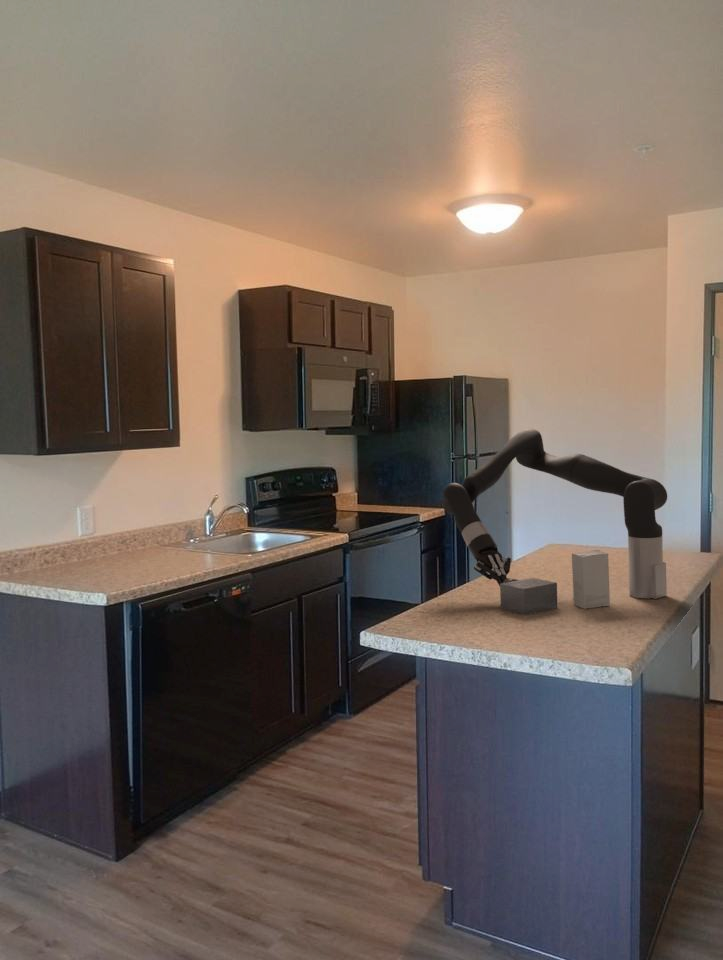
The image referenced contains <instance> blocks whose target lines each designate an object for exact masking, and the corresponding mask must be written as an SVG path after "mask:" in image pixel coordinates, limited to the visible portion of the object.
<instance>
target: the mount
mask: <svg viewBox="0 0 723 960" xmlns="http://www.w3.org/2000/svg"><path fill="white" fill-rule="evenodd" d="M517 580H518V581H512V582H507V583H501V584H500V586H499V590H500V591H499V592H500V595H499V596H500V609H501V610H504V609H505V611H508V610H509V611H508V612H511V611H512V613H515V612H516V613H515V614H519V613H520V615H523V614H524V615H523V616H526V615H525V614H527V615H531V614H530V613H532V614H535V612H536V613H540V612H539V611H541V612H545V610H546V611H550V610H555V609H558V607H559V605H558V583H557V582H555V581H549V580H544V579H540V578H535V577H530V578H524V579H517ZM554 608H555V609H554ZM549 609H550V610H549Z"/></svg>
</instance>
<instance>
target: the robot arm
mask: <svg viewBox="0 0 723 960" xmlns="http://www.w3.org/2000/svg"><path fill="white" fill-rule="evenodd" d="M541 434H542V433H540V431H539V430H537V429H534V428H526V429H523V430H520V431H519V432H517V433H516V434H514V435H513V436H512V437H511V439H510V440H508V441H507V442H506V443H505V444H504V445H503V446H502V447H501V448H500V449H499V450H498V451H497V452H496V453H495V454H494V455H493V456H492V457H491V458H490V459H489V460H488V461H486V462H485V463H484V464H482V465H481V466H480V467H478V468H477V469H476V470H473V472H471V473H469V474H467V476H466V477H465V478H464V479H463V482H462V484H460V483H457V482H451V483H448V484H447V485H446V486H445V488H444V490H443V495H442V496H443V497H442V507H443V509H444V511H445V512H446V513H448V514H450V515H454V522H455V524H456V526H457V528H458V530H459V532H460V534H461V536H462V538H463V540H464V542H465V544H466V546H467V548H468V550H469V551H470V553H471V555H472V557H473V558H474V560H476V562H477V563H476V564H475V565H474V567H473V570H475V571H476V572H478V573H479V574H481V575H482V576H483V577H484V578H486V579H488V580H494V581H496V582H497V584H498V586H499V587H500V584H501V583H503V581H504V580H506V579H508V577H507V575H508V574H509V573H510V571H511V570H510V569H511V564H512V558H511V557H509V556H508V557H507V558H505V557H503V555H502V554H501V553H500V551H499V550H498V546H497V544H496V542H495V539H493V537H492V535H491V533H490V532H489V531H488V529H487V527H486V526H485V525H484V524H483V522H482V520H481V518H480V517H479V515H478V513H477V512H476V511H475V508H474V505H473V503H474V502H475V501H476V500H477V498H478V497H479V496H480V495H482V494H483V493H485V492H486V491H487V490H488V489H491V487H493V486H495V484H496V483H497V482H499V480H500V479H501V478H502V476H503V474H504V473H505V471H507V468H508V467H509V465H510V464H511V463H512V461H513V460H514V459H515V460H516V461H517V463H518V464H520V466H522V467H524V468H528V469H532V470H536V471H538V472H541V473H546V474H549V475H552V476H555V477H557V478H560V479H563V480H565V481H567V482H570V483H571V484H573V485H576V486H579V487H582V488H584V489H587V490H590V491H594V492H600V493H607V494H611V495H612V494H613V495H617V496H620V497H622V498H623V514H624V515H623V516H624V518H623V519H624V524H625V527H626V530H627V545H628V549H627V551H628V552H627V553H628V585H629V587H628V590H629V592H628V593H629V596H630V597H632V598H636V599H637V598H638V599H650V598H653V599H654V600H655V599H656V600H657V598H658V599H660V598H663V597H666V596H667V563H666V562H665V561H664V551H663V541H664V540H663V528H662V526H661V525H660V524H658V522H657V519H656V511H657V510H659V509H661V508H662V507H663V506H664V505H665V504H666V503H667V500H668V493H667V490H666V487H665V486H664V485H663V484H662V483H661V482H660V481H658V480H656V479H653V478H649V477H644V476H640V475H637V474H633V473H629V472H627V471H624V470H622V469H620V468H617V467H615V466H612V465H610V464H608V463H605V462H604V461H600V460H598V459H595V458H593V457H591V456H588V455H584V454H582V453H574V454H573V453H572V454H568V455H564V456H555V455H552V454H550V453H548V452H546V451H545V448H544V442H543V438H542V437H543V436H542V435H541Z"/></svg>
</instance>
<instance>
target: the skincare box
mask: <svg viewBox="0 0 723 960" xmlns="http://www.w3.org/2000/svg"><path fill="white" fill-rule="evenodd" d="M571 568H572V592H573V605H574V606H576V607H578V606H579V608H581V609H583V608H584V609H583V610H587V608H588V609H594V608H601V607H602V606H603V607H607V606H611V599H610V597H611V596H610V574H609V572H610V567H609V553H608V552H604V551H601V550H598V549H595V550H589V551H581V552H573V553H571Z"/></svg>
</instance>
